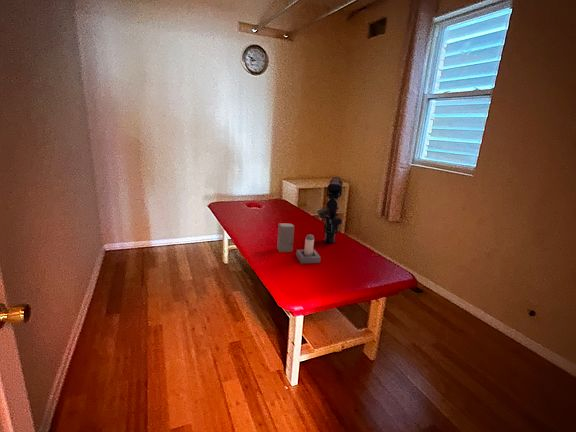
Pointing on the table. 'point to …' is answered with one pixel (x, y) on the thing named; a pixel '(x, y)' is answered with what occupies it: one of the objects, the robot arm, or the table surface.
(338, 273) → the table surface
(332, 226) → the robot arm
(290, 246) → the skincare box
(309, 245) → the grey round-top peg
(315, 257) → the jig
